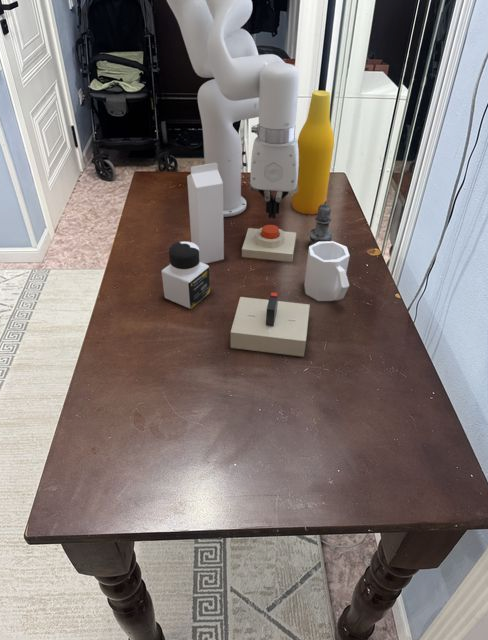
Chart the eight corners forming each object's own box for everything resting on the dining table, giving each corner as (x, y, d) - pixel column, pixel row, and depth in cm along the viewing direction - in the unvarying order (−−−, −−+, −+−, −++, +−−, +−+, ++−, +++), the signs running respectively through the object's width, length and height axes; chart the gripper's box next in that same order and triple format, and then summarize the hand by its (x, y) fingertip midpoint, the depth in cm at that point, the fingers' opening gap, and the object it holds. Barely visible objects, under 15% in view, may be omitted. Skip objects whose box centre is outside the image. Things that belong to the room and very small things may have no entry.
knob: (273, 326, 93) (274, 308, 90) (265, 325, 93) (266, 307, 90) (277, 310, 96) (278, 292, 93) (269, 309, 96) (270, 291, 93)
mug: (297, 284, 109) (301, 245, 103) (330, 275, 112) (336, 237, 105) (324, 315, 102) (330, 276, 95) (359, 306, 104) (368, 266, 97)
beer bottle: (324, 200, 139) (340, 88, 119) (325, 216, 132) (342, 100, 112) (291, 198, 139) (301, 86, 119) (291, 214, 133) (301, 98, 113)
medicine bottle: (190, 310, 102) (187, 260, 94) (163, 298, 105) (158, 249, 96) (210, 292, 106) (208, 244, 98) (184, 282, 109) (180, 233, 101)
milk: (224, 259, 116) (223, 168, 101) (199, 265, 114) (195, 173, 99) (214, 246, 120) (213, 157, 105) (191, 251, 118) (185, 161, 103)
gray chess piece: (330, 254, 118) (337, 208, 110) (306, 251, 119) (311, 205, 111) (332, 242, 123) (339, 196, 114) (308, 239, 123) (314, 194, 115)
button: (260, 238, 116) (261, 232, 115) (262, 230, 119) (263, 223, 118) (277, 240, 116) (278, 233, 115) (279, 231, 119) (279, 225, 118)
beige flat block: (230, 347, 94) (230, 331, 91) (240, 312, 102) (240, 295, 99) (303, 356, 93) (306, 340, 90) (307, 319, 101) (309, 303, 98)
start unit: (241, 257, 117) (241, 242, 114) (248, 235, 124) (248, 221, 121) (292, 262, 116) (293, 247, 113) (295, 240, 123) (297, 225, 120)
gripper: (237, 137, 99) (237, 220, 112) (312, 142, 98) (303, 226, 110) (243, 124, 105) (243, 205, 117) (314, 129, 103) (306, 210, 115)
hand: (272, 215), depth 113 cm, fingers closed
